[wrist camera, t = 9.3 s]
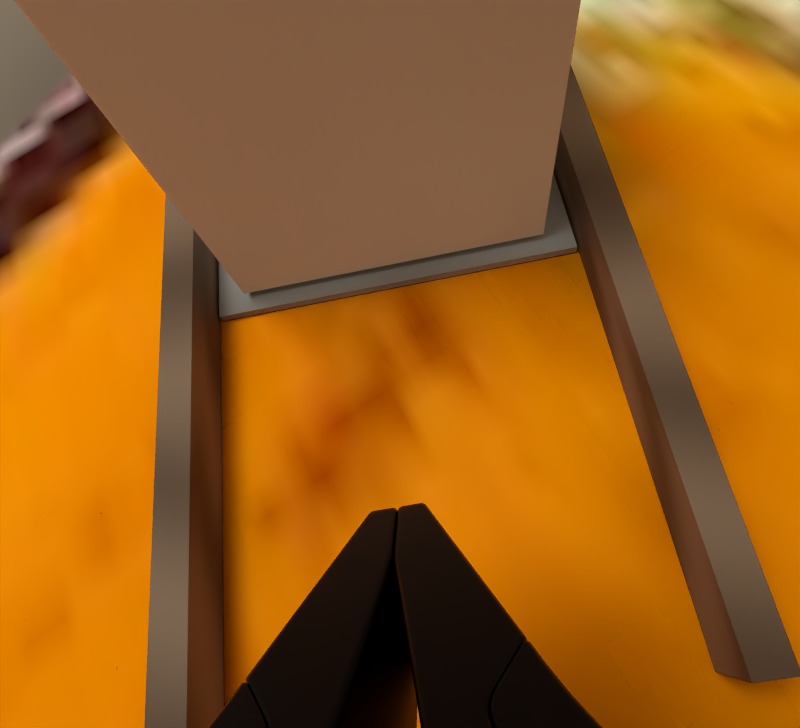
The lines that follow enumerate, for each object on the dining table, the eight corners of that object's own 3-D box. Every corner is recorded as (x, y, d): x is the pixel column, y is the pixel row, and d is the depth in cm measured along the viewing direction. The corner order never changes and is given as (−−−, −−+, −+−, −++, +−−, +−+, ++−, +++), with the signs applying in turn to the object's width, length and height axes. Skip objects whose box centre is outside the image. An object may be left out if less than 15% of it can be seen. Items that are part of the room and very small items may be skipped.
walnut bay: (758, 666, 13) (830, 682, 10) (186, 745, 14) (116, 779, 12) (524, 4, 23) (529, -77, 20) (195, 79, 24) (158, 12, 21)
